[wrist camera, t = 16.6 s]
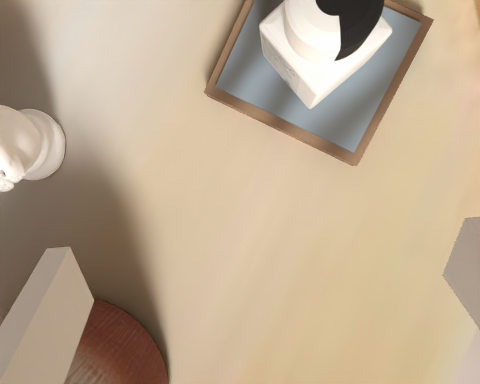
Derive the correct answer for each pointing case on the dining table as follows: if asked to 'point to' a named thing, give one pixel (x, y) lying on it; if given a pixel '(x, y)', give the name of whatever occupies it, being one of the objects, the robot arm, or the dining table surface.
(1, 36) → the dining table surface
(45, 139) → the cherub figurine
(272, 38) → the container
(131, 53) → the dining table surface
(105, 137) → the dining table surface
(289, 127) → the wooden framed tray
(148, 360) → the planter
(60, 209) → the dining table surface
